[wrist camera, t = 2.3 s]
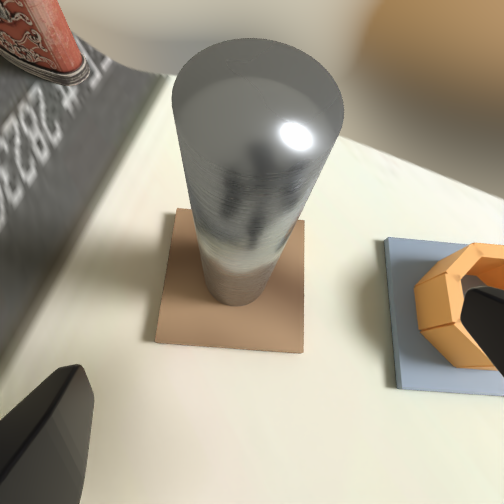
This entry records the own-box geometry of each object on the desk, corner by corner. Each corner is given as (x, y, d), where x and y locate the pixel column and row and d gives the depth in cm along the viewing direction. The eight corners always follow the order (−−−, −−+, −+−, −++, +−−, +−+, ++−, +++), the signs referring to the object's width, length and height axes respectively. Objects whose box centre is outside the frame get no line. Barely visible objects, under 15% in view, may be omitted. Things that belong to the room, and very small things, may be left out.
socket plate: (549, 399, 19) (620, 404, 15) (397, 388, 18) (436, 391, 15) (514, 252, 22) (566, 230, 19) (383, 240, 21) (414, 215, 18)
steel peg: (265, 308, 18) (347, 182, 6) (201, 303, 18) (157, 162, 6) (268, 249, 20) (341, 48, 8) (208, 244, 19) (184, 29, 7)
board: (300, 353, 18) (303, 352, 18) (157, 342, 18) (154, 341, 17) (301, 225, 21) (304, 220, 21) (178, 214, 21) (176, 208, 20)
